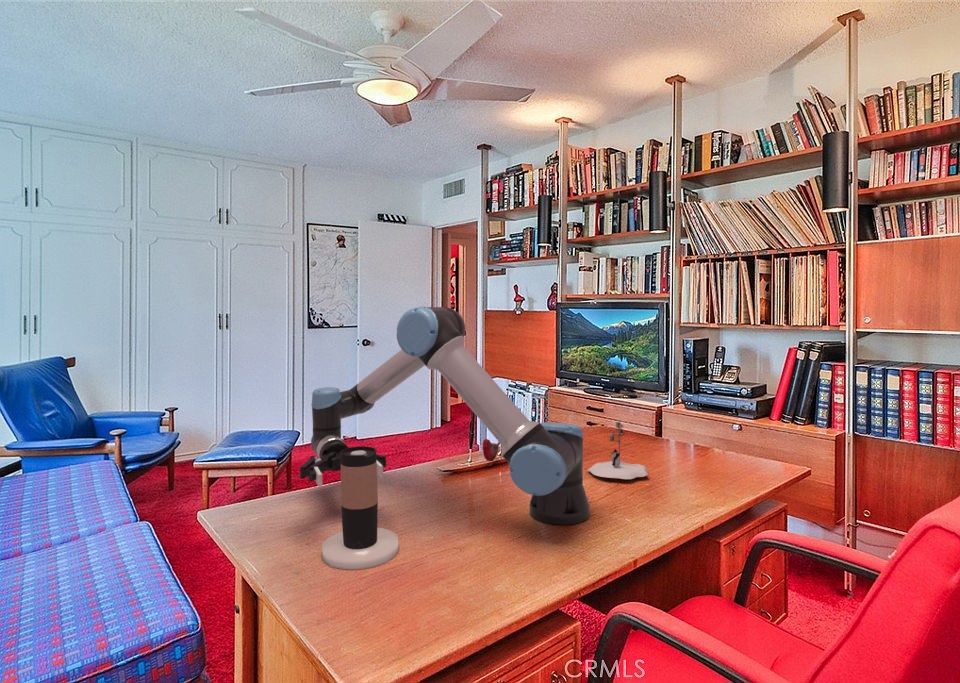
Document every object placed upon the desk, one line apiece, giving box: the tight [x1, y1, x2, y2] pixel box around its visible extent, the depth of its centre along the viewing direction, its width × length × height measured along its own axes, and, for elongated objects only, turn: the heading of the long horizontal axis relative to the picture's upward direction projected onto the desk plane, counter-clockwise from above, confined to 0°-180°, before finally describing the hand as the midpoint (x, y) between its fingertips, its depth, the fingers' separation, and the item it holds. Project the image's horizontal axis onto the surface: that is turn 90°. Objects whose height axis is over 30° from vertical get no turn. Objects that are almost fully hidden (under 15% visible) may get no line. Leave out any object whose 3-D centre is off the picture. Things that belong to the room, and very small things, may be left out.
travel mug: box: [340, 445, 379, 549], centre depth 113 cm, size 8×8×20 cm
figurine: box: [587, 421, 649, 480], centre depth 166 cm, size 20×18×16 cm
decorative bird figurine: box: [482, 438, 501, 467], centre depth 177 cm, size 3×18×10 cm, turn 158°
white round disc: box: [321, 526, 400, 571], centre depth 114 cm, size 16×16×2 cm
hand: (351, 476), depth 119 cm, fingers open, 13 cm apart
